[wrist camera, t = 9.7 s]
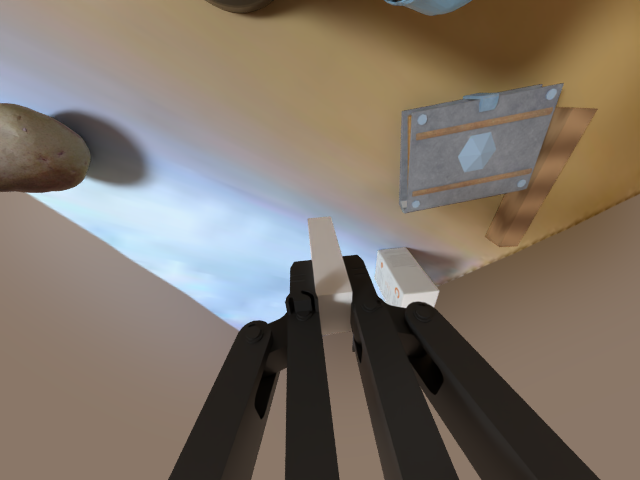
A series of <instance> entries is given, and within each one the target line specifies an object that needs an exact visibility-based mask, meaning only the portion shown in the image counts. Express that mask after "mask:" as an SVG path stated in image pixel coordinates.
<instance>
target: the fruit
mask: <svg viewBox="0 0 640 480" xmlns="http://www.w3.org/2000/svg"><path fill="white" fill-rule="evenodd" d="M90 160H91V155H90V152H89V149H88V147H87V145H86V143H85V142H84V140H83V139H82V138H81V137H80V136H79V135H78V134H77V133H75V132H74V131H73V130H71V129H70V128H68V127H67V126H66V125H64V124H63V123H61V122H59V121H57V120H56V119H53V118H51V117H49V116H47V115H45V114H42V113H39V112H36V111H34V110H32V109H29V108H27V107H23V106H20V105H16V104H8V103H0V192H11V191H17V192H29V193H43V192H50V191H63V190H67V189H70V188H73V187H75V186H77V185H78V184H79V183H81V182H82V181H83V179H84V178H85V176H86V173H87V170H88V167H89V164H90Z"/></svg>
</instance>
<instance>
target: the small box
mask: <svg viewBox="0 0 640 480" xmlns="http://www.w3.org/2000/svg"><path fill="white" fill-rule="evenodd" d="M375 280H376V282H377V285H378V287H379V289H380V291H381V293H382V295H383V297H384V299H385V302H386V303H387V304H389V305H392V306H397V307H403V308H407V306H408V305H409V304H410V303H412V302H417V301H419V302H425V303H427V304H429V305H431V306H433V307H434V306H435V303H436V300H437V297H438V294H439V289H438V288H437V287H436V285H435V284H434V283H433V282H432V280H431V279H430V278H429V276H428V275H427V274H426V273H425V271H424V270H423V269H422V267H421V266H420V265H419V264H418V262H417V261H416V260H415V258H414V257H413V256H412V255H411V253H410V252H409V251H408V249H407V248H405V247H403V248H394V249H383V250H378V252H377V260H376V269H375Z"/></svg>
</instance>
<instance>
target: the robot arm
mask: <svg viewBox="0 0 640 480" xmlns="http://www.w3.org/2000/svg"><path fill="white" fill-rule="evenodd" d="M206 1H207V2H209V3H210V4H212V5H214V6H216V7H218V8H221V9H223V10H226V11H230V12H237V13H246V12H252V11H256V10H258V9H261V8H263V7H265V6H266V5H268V4H269V3H271V2H272V1H273V0H206ZM384 1H385V2H387V3H389V4H391V5H400V6H406V7H408V8H410V9H413V10H415V11H417V12H420V13H422V14H425V15H430V16H434V15H438V14H445V13H449V12H452V11H455V10H456V9H458V8H460V7H462V6H464V5H466V4H467V3H469V2H470V1H472V0H384ZM308 228H309V239H310V250H311V260H308V261H298V262H294V263H293V265H292V266H291V268H290V294H289V295H288V296H287V298H286V301H285V304H286V308H287V313H286V314H285V315H284V316H283V317H282V318H280V319H278V320H276V321H274V322H271V323H269V324H267V323H266V322H264V321H261V320H258V321H252V322H250V323H247V324H246V325H245V326H244V327H242V329H241V330H240V331H239V333H238V335H237V337H236V339H235V342H234V343H233V345H232V348H231V350H230V352H229V354H228V356H227V358H226V360H225V362H224V364H223V366H222V368H221V370H220V372H219V375H218V377H217V379H216V381H215V383H214V385H213V387H212V389H211V392H210V393H209V395H208V398H207V400H206V402H205V404H204V406H203V408H202V410H201V412H200V414H199V416H198V419H197V421H196V423H195V425H194V427H193V429H192V431H191V433H190V435H189V437H188V439H187V442H186V444H185V446H184V448H183V450H182V452H181V454H180V456H179V459H178V460H177V463H176V465H175V467H174V469H173V471H172V473H171V475H170V477H169V479H168V480H251V477H252V474H253V470H254V466H255V462H256V459H257V455H258V451H259V447H260V444H261V440H262V437H263V433H264V429H265V426H266V422H267V418H268V414H269V411H270V407H271V403H272V400H273V396H274V392H275V389H276V385H277V381H278V377H279V374H280V371H281V370H283V369H285V368H287V398H286V458H285V480H339V472H338V463H337V455H336V447H335V439H334V431H333V423H332V415H331V405H330V397H329V389H328V381H327V373H326V365H325V356H324V348H323V339H322V335H326V334H334V333H342V332H350V331H351V328H352V332H353V347H352V350H353V352H355V353H356V357H357V362H358V366H359V371H360V375H361V379H362V383H363V388H364V392H365V397H366V401H367V405H368V409H369V414H370V418H371V423H372V427H373V431H374V435H375V440H376V444H377V448H378V453H379V457H380V461H381V466H382V470H383V474H384V479H385V480H459V478H458V476H457V474H456V471H455V469H454V466H453V464H452V462H451V459H450V457H449V454H448V452H447V450H446V447H445V445H444V443H443V440H442V438H441V435H440V433H439V431H438V428H437V426H436V424H435V421H434V419H433V416H432V414H431V412H430V409H429V407H428V405H427V402H426V400H425V398H424V395H423V393H422V390H423V392H424V393H425V394H426V396H427V398H428V399H429V401H430V402H431V404H432V405H433V407H434V408H435V410H436V411H437V413H438V414H439V416H440V417H441V419H442V420H443V422H444V423H445V425H446V426H447V428H448V429H449V431H450V433H451V434H452V435H453V437H454V439H455V440H456V442H457V443H458V445H459V446H460V448H461V449H462V450H463V452H464V454H465V455H466V457H467V458H468V460H469V461H470V463H471V464H472V466H473V467H474V469H475V470H476V472H477V474H478V475H479V477H480V478H481V480H600V479H599V478H598V477H597V476H596V475H595V474H594V473H593V472H592V471H591V470H590V469H589V467H588V466H586V464H585V463H584V462H583V461H582V460H581V459H580V458H579V457H578V456H577V455H576V454H575V453H574V452H573V451H572V450H571V449H570V448H569V447H568V446H567V445H566V444H565V443H564V442H563V441H562V439H561V438H560V437H559V436H558V435H557V434H556V433H555V432H554V431H553V430H552V429H551V428H550V427H549V426H548V425H547V424H546V423H545V422H544V421H543V420H542V419H541V418H540V417H539V416H538V415H537V414H536V412H535V411H534V410H533V409H532V408H531V407H530V406H529V405H528V404H527V403H526V402H525V401H524V400H523V399H522V398H521V397H520V396H519V395H518V394H517V393H516V392H515V391H514V390H513V389H512V388H511V387H510V385H509V384H508V383H507V382H506V381H505V380H504V379H503V378H502V377H501V376H500V375H499V374H498V373H497V372H496V371H495V370H494V369H493V368H492V367H491V366H490V365H489V364H488V363H487V362H486V361H485V359H484V358H482V356H481V355H480V354H479V353H478V352H477V351H476V350H475V349H474V348H473V347H472V346H471V345H470V344H469V343H468V342H467V341H466V340H465V339H464V338H463V337H462V336H461V335H460V334H459V333H458V331H457V330H456V329H455V328H454V327H453V326H452V325H451V324H450V323H449V322H448V321H447V320H446V319H445V318H444V317H443V316H442V315H441V314H440V313H439V312H438V311H437V310H436V309H435V308H434V307H433V306H431V305H429V304H427V303H425V302H419V301H417V302H412V303H410V304H409V305H408V306H407V308H403V307H397V306H392V305H389V304H387V303H385V302H384V301H383V300H382V299H381V298H379V297H378V295H377V294H376V291H375V289H374V286H373V284H372V281H371V279H370V276H369V274H368V271H367V269H366V266H365V264H364V261H363V260H362V259H361V258H360V257H359V256H358V255H351V256H342V254H341V251H340V247H339V244H338V240H337V237H336V233H335V230H334V226H333V223H332V220H331V217H320V218H309V219H308ZM420 387H421V388H420ZM421 389H422V390H421Z"/></svg>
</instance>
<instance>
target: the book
mask: <svg viewBox="0 0 640 480" xmlns="http://www.w3.org/2000/svg"><path fill="white" fill-rule="evenodd" d="M563 84H564V83H561V84H556V85H551V86H546V87H542V85H543V84H539V85H533V86H528V87H523V88H518V89H513V90H508V91H503V92H498V93H476V94H471V95H466V96H463V99H462V100H457V101H452V102H446V103H441V104H436V105H431V106H426V107H421V108H416V109H411V110H405V111H402V125H401V159H400V192H399V205H400V207H401V210H402V212H403V213H409V212H414V211H419V210H424V209H429V208H434V207H439V206H444V205H449V204H454V203H460V202H465V201H470V200H475V199H480V198H485V197H490V196H495V195H500V194H505V193H510V192H515V191H520V190H524V189H527V187H528V184H529V181H530V178H531V175H532V172H533V170H534V167H535V164H536V161H537V158H538V155H539V153H540V150H541V147H542V144H543V141H544V138H545V135H546V133H547V130H548V127H549V124H550V121H551V118H552V116H553V113H554V110H555V107H556V104H557V101H558V98H559V96H560V93H561V90H562V87H563Z"/></svg>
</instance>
